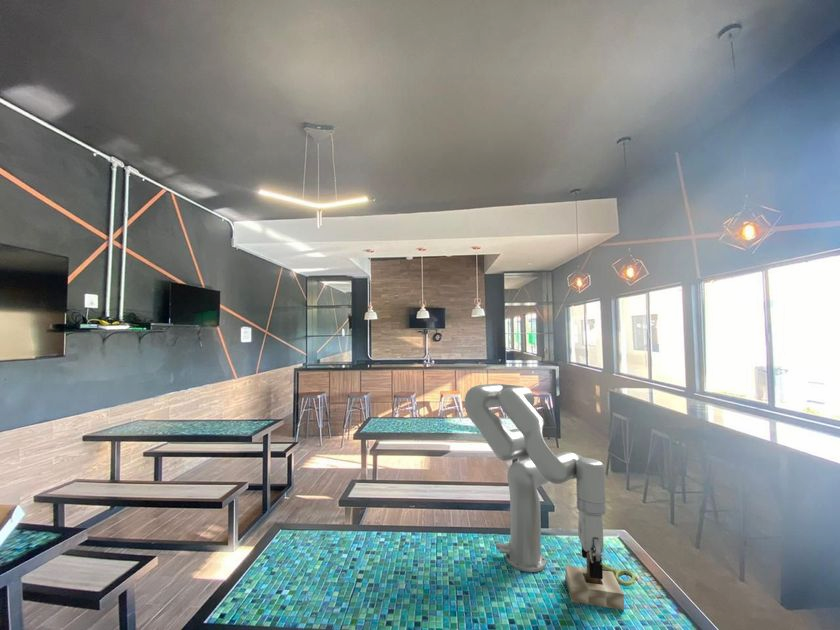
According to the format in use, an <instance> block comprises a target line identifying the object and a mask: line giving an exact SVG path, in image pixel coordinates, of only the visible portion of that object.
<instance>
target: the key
mask: <svg viewBox="0 0 840 630" xmlns="http://www.w3.org/2000/svg"><path fill="white" fill-rule="evenodd" d="M602 567H603V569H604V571H610V572H613V573H614V575H615V578H616V580H617V582H618V584H619V585H620V584H621V585H623V586H631V584H632V585H633V584H635V582H636V577H635V574H634V573H633V572H632V571H629V570H627V569H619V570H616V568H612V567H610V566H609V565H606V564H605V563H603V562H602ZM624 573H626V574H624ZM628 574H630V575H631V576H632V577H631V576H630V575H629V576H630V577H631V579H632V580H628V581H625V580H622V579H620V578H619V577H620V576H621V575H628ZM634 581H635V582H634Z"/></svg>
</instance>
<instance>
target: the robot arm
mask: <svg viewBox="0 0 840 630" xmlns="http://www.w3.org/2000/svg"><path fill="white" fill-rule="evenodd" d="M534 404H535V396H534V393H533V392H532V390H530V389H529V388H528V387H525V386H523V385H512V384H504V383H489V384H479V385H475V386H472V387H470V388H469V389H468V390H467V392H466V394H465V396H464V408H465V411H466V414H467V417H468V418H469V419H470V420H471V422H472V423H473V424H474V426H475V427H476V429H478V431H479V432H480V434H481V435H482V437H483V438H484V440H485V441H486V443H487V444H488V446H489V448H490V449H491V450H492V452H493V454H495V456H496V457H497V459H499V460H500V461H503V462H509V461H512V460H515V459H518V460H516V461H514V462H513V463H511V464H510V465H509V467H508V468H507V474H506V477H507V484H508V489H509V505H510V507H509V509H510V513H509V516H510V517H509V519H510V521H509V522H510V526H509V527H510V532H509V534H510V537H509V541H508V542H506V543H502V542H496V550H499V553H500V554H505V560H506V562H507V563H508V564H509V566H510V567H512V568H513V569H516V570H519V571H521V572H527V573H537V572H541V571H542V570H544V569H546V566H547V559H546V557H545V556H544V555H543V553H542V533H541V532H542V526H541V525H542V521H541V501H540V497H539V494H538V492H537V491H538V488H539V487H541V486H543V485H545V484H547V483H549V482H550V483H553V484H555V485H560V484H561V485H562V484H564V483H566V482H568V481H569V480H570V481H571V480H576V484H575V485H576V508H577V510H578V519H577V520H578V522H577V523H578V525H577V535H578V540H579V541H580V545H581V557H582V558H583V559H587V552H589V553H590V561H589V575H590V577H591V578H596V579H603V571H604V570H603V569H604V568H603V567H602V563H603V559H602V558H603V557H602V555H603V554H602V553H604V528H603V527H604V526H603V516H604V515H606V510H607V509H606V466H605V464H604V463H603V462H601V461H600V460H598V459H595V458H590V457H584V456H581V455H580V454H578V453H574V452H572V451H563V452H560V453H557V454H555V453H554V452H553V451H552V450H551V449H550V447H549V446H548V445H547V443H546V441H545V440H544V439H545V438H544V436H543V428H544V425H545V420H544V418H543V417H542V416H541V415H540V413H538V411H537V410H536V408H535V407H534ZM496 407H500V408H501V410H502V411H503V412H504V413H505V414H506V416H507V417H508V418H509V419H510V421H512V423H513V425H514V426H515V427H516V428H515V429H514V428H513V429H509V428H507V427H506V425H505V424H504V423H503V421H502V420H501V419H500V417H499V416H497V414H495V413H494V412H493V411H492V410H491V409H490V408H496ZM592 553H595V556H594V557H593V554H592Z"/></svg>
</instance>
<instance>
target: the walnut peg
mask: <svg viewBox="0 0 840 630" xmlns="http://www.w3.org/2000/svg"><path fill="white" fill-rule="evenodd" d="M592 554H593V557H594V556H595V553H592ZM589 561H590V553H589V552H587V558H586V568H587V583H593V584H599V579H596V578H591V577H590V575H589Z"/></svg>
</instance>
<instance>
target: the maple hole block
mask: <svg viewBox="0 0 840 630" xmlns="http://www.w3.org/2000/svg"><path fill="white" fill-rule="evenodd" d="M564 568H565V570H564V572H565V577H564V578H565V582H566V586H567V590H568V593H569V594H568V595H569V598H570V600H571V602H572V603H576V604H583V605H590V606H595V607H601V608H602V607H603V608H608V609H615V610H621V611H624V610H625V594H624V591H623V590H622V588H621V586H620V583H618V582H617V580H616V578H615V575H614V573H613V572H610V571H607V570H603V579H599V584H593V583H587V567H580V566H572V565H567V564H566V565H564Z"/></svg>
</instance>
